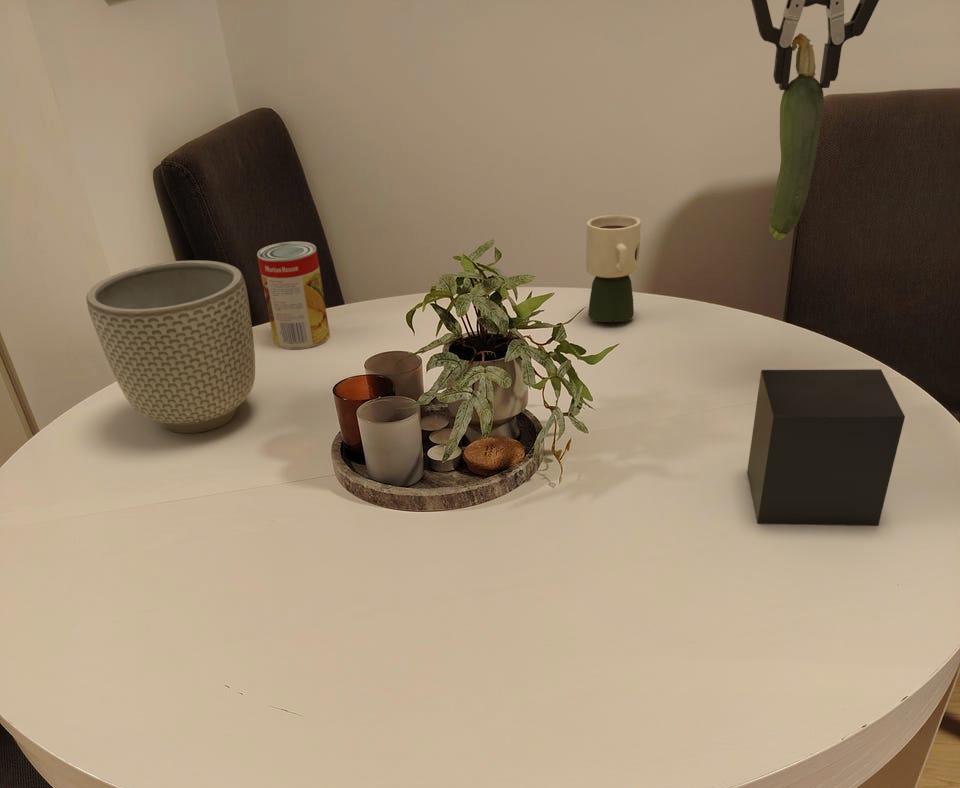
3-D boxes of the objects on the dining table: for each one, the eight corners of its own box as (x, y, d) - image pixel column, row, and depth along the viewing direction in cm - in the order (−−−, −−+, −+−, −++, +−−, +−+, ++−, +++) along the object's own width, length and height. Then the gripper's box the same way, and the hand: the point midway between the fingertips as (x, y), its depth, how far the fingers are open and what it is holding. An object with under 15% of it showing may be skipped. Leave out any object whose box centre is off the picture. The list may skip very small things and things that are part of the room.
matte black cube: (855, 464, 97) (877, 361, 90) (878, 525, 88) (905, 416, 81) (745, 463, 99) (759, 362, 92) (757, 523, 90) (773, 416, 83)
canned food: (331, 326, 136) (318, 239, 129) (328, 347, 130) (313, 257, 123) (277, 330, 136) (260, 243, 129) (271, 351, 130) (253, 261, 123)
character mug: (647, 330, 128) (652, 230, 120) (595, 336, 128) (598, 236, 120) (624, 303, 137) (628, 208, 129) (576, 309, 136) (577, 213, 128)
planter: (109, 413, 117) (66, 282, 107) (239, 376, 124) (210, 249, 114) (153, 466, 105) (110, 324, 95) (294, 421, 112) (268, 285, 102)
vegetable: (804, 236, 108) (837, 29, 95) (800, 248, 105) (834, 35, 92) (764, 234, 109) (792, 29, 97) (759, 245, 106) (787, 35, 94)
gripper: (755, -120, 85) (736, 98, 96) (921, -134, 83) (883, 90, 94) (748, -120, 91) (730, 85, 101) (903, -134, 89) (869, 78, 99)
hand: (804, 86), depth 97 cm, fingers closed on vegetable, 3 cm apart
